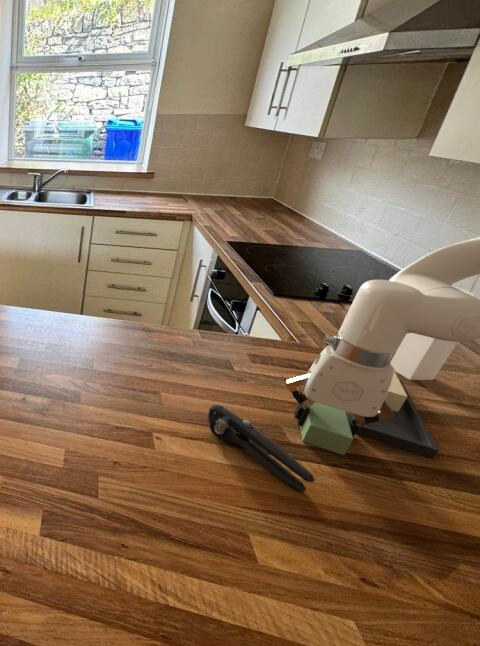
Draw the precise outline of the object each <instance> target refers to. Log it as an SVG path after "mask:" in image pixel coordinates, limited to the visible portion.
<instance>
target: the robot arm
mask: <svg viewBox="0 0 480 646" xmlns="http://www.w3.org/2000/svg"><path fill="white" fill-rule="evenodd" d="M479 275H480V236H478V237H474V238H470V239H467V240H463V241H459V242H456V243H452V244H449V245H446V246H443V247H440V248H437V249H436V250H433V251H431V252H429V253H427V254H425V255H424V256H421V257H420V258H419V259H417V260H415V261H413V262H412V263H410V264H409V265H407V266H406V267H403V268H402V269H400V270H399V271H398V272H397V273H396V274H395V273H394V275H393V276H391V277H390V278H389V279H369V280H367V281H365V282H363V283H362V284H360V287H359V288H358V290H357V292H356V295H355V296H354V298H353V300H352V303H351V305H350V307H349V308H348V311H347V313H346V315H345V317H344V320H343V321H342V323H341V326H340V328H339V330H338V331H336V333H335V334H333V335H327V334H325V335H324V337H323V340H322V342H323V343H325V344H328V345H327V346H325V348H323V350H322V351H321V352H320V353H319V354H318V356H317V357H316V359H315V360H314V361H313V363H312V365H311V366H310V368H309V369H308V371H307V373H306V374H302V375H298V376H296V377H293V378H292V377H291V378H289V379H286V380H285V381H284V382H285V383H284V384H285V387H286V388H287V390H288V391H289V392H290V393H291V394H292V397H293V398H294V400H295V401H296V402H297V403H298V404H297V407H296V409H295V411H294V413H293V418H294V419H296V423H297V426H298V427H300V426H303V424H304V422H305V420H306V418H307V416H308V414H309V412H310V410H309V407H310V406H311V405H312V404H314V403H315V402H317V403H320V404H323V405H326V406H330V407H333V408H336V409H339V410H343V411H345V412H346V413H348V415H346V416H347V420H348V423H349V426H350V429H351V433H352V436H353V438H354V437H355V436H356V435H357V434H356V432H357V430H358V429H359V427H362V426H364V425H365V424H368V423H373V422H377V421H379V420H384V419H390V418H394V417H395V415H394V413H393V411H392V409H391V408H390V407H389V405H388V404H387V402H386V401H385V397H386V395H387V393H388V390H389V387H390V384H391V381H392V378H393V374H394V367H393V366H392V365H391V363H390V362H391V360H392V358H393V357H394V355H395V353H396V351H397V350H398V348H399V346H400V344H401V343H402V341H403V339H404V337H405V336H406V334H407V333H414V334H419V335H423V336H427V337H431V338H435V339H439V340H445V341H453V342H458V343H461V342H462V343H463V342H471V341H475V340H479V339H480V299H479V298H478V297H475V296H474V297H473V296H471V295H469V294H467V293H465V292H463V291H461V290H459V289H457V288H458V287H457V288H455V287H456V286H455V287H453V286H454V284H456V283H458V282H460V281H463V280H465V279H467V278H472V277H475V276H479ZM450 285H452V286H450ZM301 386H304V389H303V392H302V391H301V389H299V387H301ZM349 413H353V415H350V414H349Z"/></svg>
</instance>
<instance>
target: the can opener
mask: <svg viewBox="0 0 480 646" xmlns="http://www.w3.org/2000/svg"><path fill="white" fill-rule="evenodd" d="M207 413H208V414H207V418H208V423H209V429H210V432H211V433H212V435H214V437H216V438H218V439H220V440H223V441H227V442H230V443H234V444H236V445H238V446H240V447H241V448H243V449H244V450H245V451H246V452H248V453H249V454H250V455H251V456H252V457H254V458H255V459H256V460H257V461H258V462H259V463H260V464H261V465H263V466H264V467H265V468H266V469H267V470H268V471H269V472H271V474H273V475H274V476H276V477H277V478H278V479H280V480H281V481H282V482H283V483H285V484H286V485H288V486H290V487H291V488H293V490H296V491H297V492H303V493H305V492H306V490H307V487H306V485H305V484H304V483H303V482H302V481H301V480H304V481H305V482H308V483H314V482H315V478H314V476H313V474H312V472H310V471H309V470H308V469H307V468H306V467H305V466H304V465H302V464H301V463H300V462H299V461H298V460H297V459H295V458H294V457H293V456H292V455H291V454H289V453H288V452H287V451H285V450H284V449H283V448H282V447H281V446H279V445H278V444H277V443H276V442H275V441H273V440H272V439H270V438H269V437H268V436H267V435H265V434H264V433H263V432H261V431H260V430H259V429H257V428H256V427H254V426H252V422H251V421H249V420H246V419H243V418H241V417H240V416H238V415H237V414H236V413H233V412H232V411H231V410H229V409H228V408H225V407H224V406H223V405H220V404H213V405H212V406H210V407H209V410H208V412H207ZM282 464H283V465H284V466H285V467H284V466H283V465H282ZM288 469H289V470H290V471H289V470H288ZM291 471H292V472H293V473H295V474H296V475H297V476H298V477H300V478H301V480H300V479H298V477H297V476H295V475H294V474H293V473H292V472H291Z"/></svg>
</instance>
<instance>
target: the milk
mask: <svg viewBox="0 0 480 646" xmlns="http://www.w3.org/2000/svg"><path fill="white" fill-rule="evenodd" d="M450 286H453V287H455V288H457V289H459V290H461V291H463V292H465V293H467V294H469V295H471V296H473V297H475V296H476V294H475V293H474V292H471V291H468V290H465V289H462V288H460V287H457V286H454V285H453V284H452V285H450ZM458 343H459V342H453V341H445V340H439V339H435V338H431V337H427V336H423V335H419V334H414V333H407V334H406V336H405V337H404V339H403V341H402V343H401V344H400V346H399V348H398V350H397V351H396V353H395V355H394V357H393V358H392V360H391V362H390V363H391V365H392V366H393V367H394V371H395V373H396V374H399V375H400V376H402V377H404V378H405V379H407V380H409V381H432V380H435V378H437V376H438V374H439V372H440V371H441V369H442V368H443V366H444V364H445V363H446V361H447V360H448V358H449V357H450V355H451V354H452V352H453V350H455V347H456V346H457V344H458Z"/></svg>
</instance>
